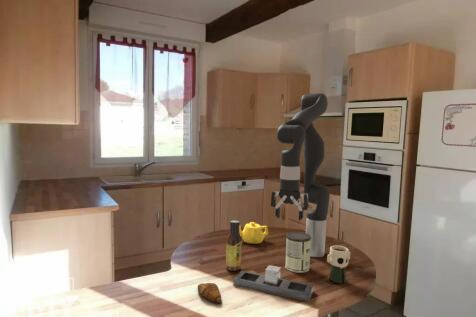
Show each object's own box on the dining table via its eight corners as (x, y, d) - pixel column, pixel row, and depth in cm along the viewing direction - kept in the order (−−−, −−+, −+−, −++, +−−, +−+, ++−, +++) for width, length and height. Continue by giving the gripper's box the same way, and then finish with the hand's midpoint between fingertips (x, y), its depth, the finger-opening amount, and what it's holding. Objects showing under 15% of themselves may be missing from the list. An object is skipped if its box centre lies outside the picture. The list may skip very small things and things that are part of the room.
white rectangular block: (268, 283, 125) (269, 265, 125) (279, 285, 124) (280, 267, 123) (264, 288, 121) (265, 269, 121) (276, 290, 120) (277, 271, 119)
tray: (241, 276, 131) (241, 270, 131) (313, 291, 121) (313, 285, 121) (233, 285, 124) (233, 278, 124) (309, 301, 113) (309, 294, 113)
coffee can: (287, 261, 149) (288, 230, 148) (310, 265, 145) (312, 233, 144) (282, 270, 139) (284, 237, 138) (307, 274, 136) (309, 240, 135)
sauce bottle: (239, 272, 135) (240, 224, 134) (224, 270, 137) (225, 223, 135) (242, 266, 142) (243, 220, 140) (227, 264, 143) (229, 218, 141)
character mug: (332, 286, 125) (334, 253, 124) (320, 279, 132) (322, 246, 131) (354, 282, 130) (356, 250, 129) (342, 275, 136) (344, 244, 135)
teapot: (234, 241, 174) (234, 222, 173) (250, 235, 184) (250, 217, 184) (255, 247, 165) (255, 228, 164) (270, 241, 176) (271, 222, 175)
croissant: (228, 302, 112) (229, 288, 111) (211, 308, 108) (212, 293, 107) (207, 286, 123) (207, 273, 122) (190, 291, 118) (191, 278, 118)
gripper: (310, 177, 129) (309, 218, 130) (274, 174, 134) (273, 214, 136) (306, 180, 122) (305, 223, 123) (269, 177, 127) (268, 219, 129)
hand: (289, 218), depth 129 cm, fingers open, 8 cm apart
